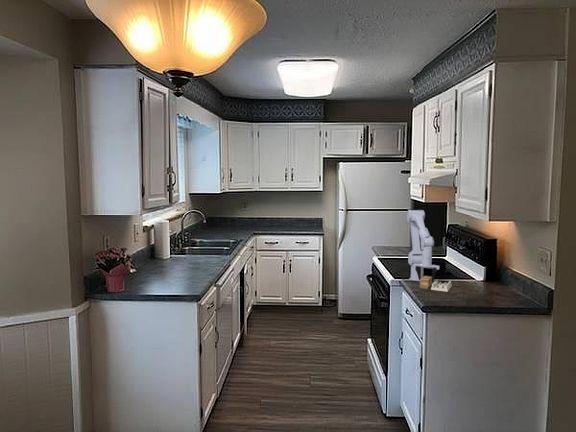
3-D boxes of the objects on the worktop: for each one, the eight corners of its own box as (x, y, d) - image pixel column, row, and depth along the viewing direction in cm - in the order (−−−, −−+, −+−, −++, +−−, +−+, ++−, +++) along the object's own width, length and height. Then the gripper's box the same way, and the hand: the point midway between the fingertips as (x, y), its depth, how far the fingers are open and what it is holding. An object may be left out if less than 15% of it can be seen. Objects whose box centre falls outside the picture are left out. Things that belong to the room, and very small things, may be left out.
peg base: (435, 284, 271) (436, 279, 271) (451, 286, 267) (452, 280, 266) (430, 289, 259) (431, 284, 259) (447, 291, 254) (447, 286, 254)
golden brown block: (424, 283, 274) (424, 275, 273) (431, 284, 271) (432, 276, 271) (419, 288, 263) (419, 279, 263) (427, 289, 261) (427, 280, 260)
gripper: (412, 257, 266) (412, 280, 267) (438, 259, 258) (437, 282, 260) (415, 255, 272) (415, 277, 273) (440, 257, 265) (439, 280, 266)
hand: (426, 280), depth 267 cm, fingers open, 7 cm apart
